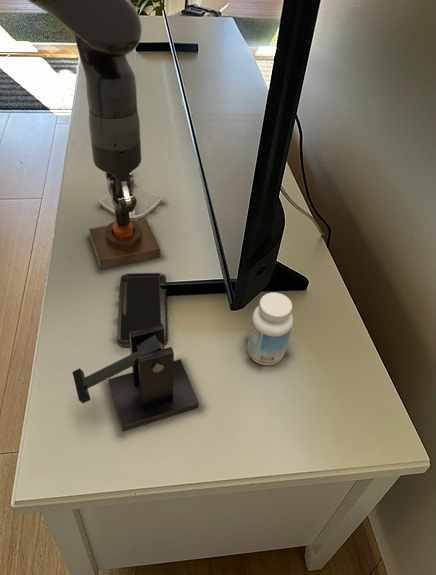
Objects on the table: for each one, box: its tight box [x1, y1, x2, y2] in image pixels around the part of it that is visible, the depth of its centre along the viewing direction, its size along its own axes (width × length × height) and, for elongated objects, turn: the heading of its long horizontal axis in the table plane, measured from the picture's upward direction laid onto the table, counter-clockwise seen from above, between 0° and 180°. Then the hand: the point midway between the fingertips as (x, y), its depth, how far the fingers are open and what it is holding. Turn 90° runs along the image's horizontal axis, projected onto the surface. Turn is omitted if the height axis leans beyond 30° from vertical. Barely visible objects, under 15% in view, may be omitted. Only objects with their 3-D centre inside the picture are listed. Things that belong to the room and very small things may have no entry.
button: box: [113, 220, 134, 239], centre depth 89 cm, size 4×4×2 cm
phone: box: [116, 272, 169, 348], centre depth 82 cm, size 8×1×15 cm
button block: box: [88, 218, 161, 270], centre depth 91 cm, size 11×9×4 cm
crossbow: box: [98, 172, 163, 221], centre depth 103 cm, size 16×13×2 cm
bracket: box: [107, 323, 199, 432], centre depth 67 cm, size 11×8×13 cm
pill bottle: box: [246, 292, 294, 366], centre depth 74 cm, size 6×6×11 cm
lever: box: [72, 335, 165, 404], centre depth 63 cm, size 12×4×2 cm, turn 112°
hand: (122, 223), depth 88 cm, fingers closed
